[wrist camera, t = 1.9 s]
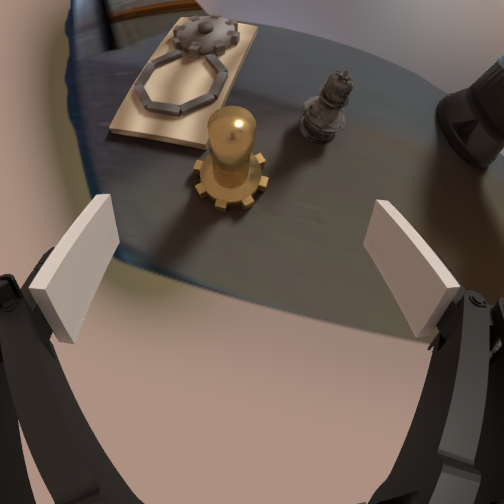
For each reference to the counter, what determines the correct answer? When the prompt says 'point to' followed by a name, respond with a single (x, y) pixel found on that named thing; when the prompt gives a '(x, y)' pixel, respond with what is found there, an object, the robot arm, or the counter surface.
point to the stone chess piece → (326, 109)
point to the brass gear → (231, 160)
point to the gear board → (185, 81)
